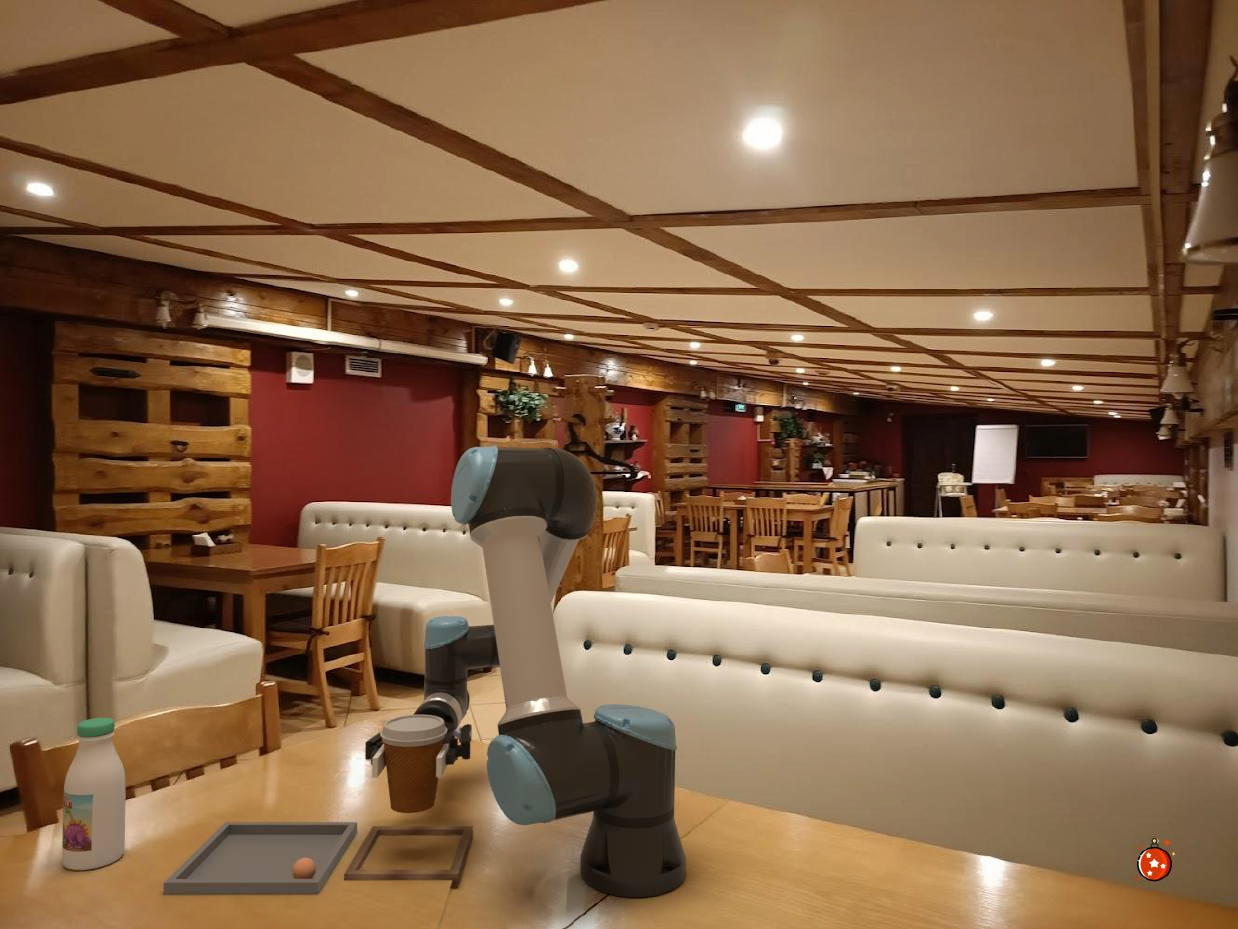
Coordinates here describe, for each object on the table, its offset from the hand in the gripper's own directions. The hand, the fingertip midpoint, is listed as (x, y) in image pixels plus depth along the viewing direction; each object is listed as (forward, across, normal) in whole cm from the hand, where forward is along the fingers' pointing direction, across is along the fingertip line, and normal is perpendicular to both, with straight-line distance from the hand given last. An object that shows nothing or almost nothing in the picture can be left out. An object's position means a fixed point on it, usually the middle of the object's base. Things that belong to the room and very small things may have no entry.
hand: (406, 767), depth 120 cm
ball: (+3, +13, -14) cm, 19 cm away
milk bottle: (-6, +46, -15) cm, 49 cm away
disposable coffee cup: (-5, 0, -7) cm, 9 cm away
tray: (-3, +20, -15) cm, 25 cm away
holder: (-5, 0, -15) cm, 16 cm away
